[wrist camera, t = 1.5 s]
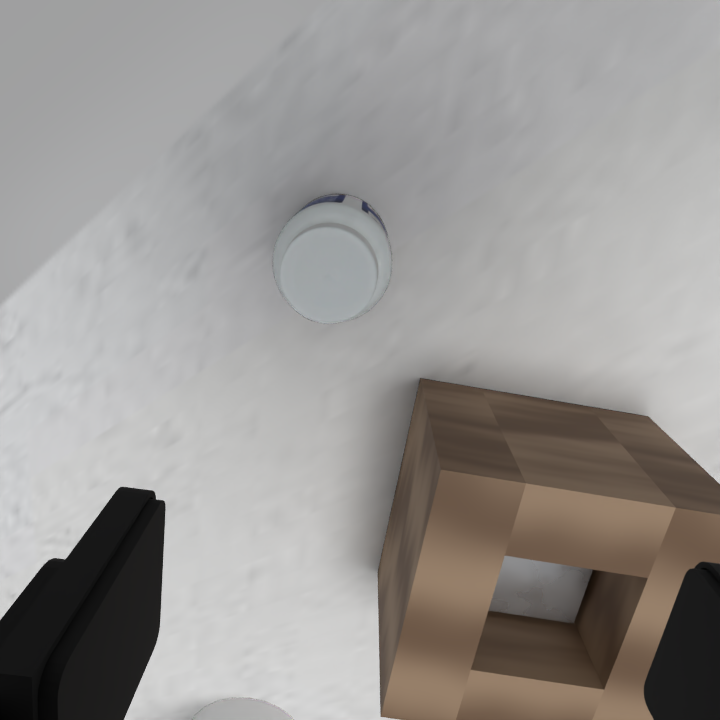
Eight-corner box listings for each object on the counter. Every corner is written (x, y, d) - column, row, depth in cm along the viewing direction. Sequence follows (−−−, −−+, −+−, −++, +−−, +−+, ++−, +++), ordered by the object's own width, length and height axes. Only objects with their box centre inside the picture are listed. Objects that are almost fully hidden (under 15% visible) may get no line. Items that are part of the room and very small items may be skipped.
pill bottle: (280, 275, 34) (247, 320, 25) (304, 180, 33) (279, 191, 23) (371, 302, 35) (372, 356, 26) (400, 209, 33) (412, 232, 24)
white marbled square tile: (488, 501, 32) (492, 512, 31) (599, 519, 32) (607, 530, 31) (463, 594, 34) (465, 606, 33) (568, 610, 34) (573, 623, 33)
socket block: (420, 378, 36) (440, 469, 26) (648, 416, 37) (758, 521, 26) (377, 572, 41) (380, 716, 30) (581, 603, 41) (653, 755, 31)
